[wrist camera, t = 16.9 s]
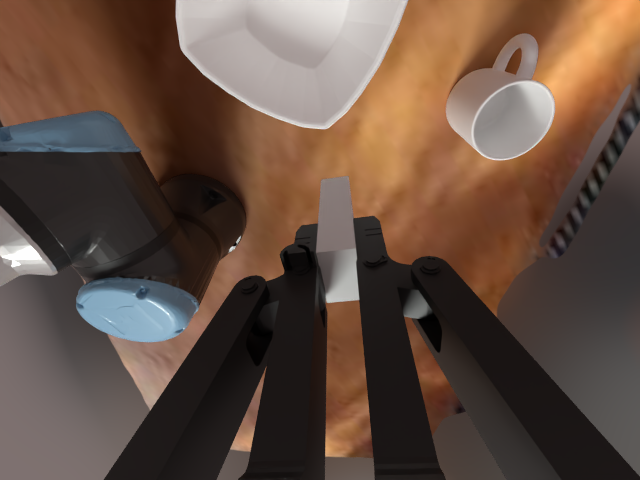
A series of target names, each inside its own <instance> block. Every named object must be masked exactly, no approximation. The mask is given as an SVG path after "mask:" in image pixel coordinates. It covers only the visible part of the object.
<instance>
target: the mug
mask: <svg viewBox="0 0 640 480" xmlns="http://www.w3.org/2000/svg"><path fill="white" fill-rule="evenodd" d="M518 48H521V51H522V58H521V62H520V66H519V68H518V71H517V73H516V75H515V74H512V73H508V72H505V69H506V66H507V64H508V62H509V60H510V58H511V56H512V54H513V53H514V52H515V51H516V50H517V49H518ZM537 59H538V44H537V42H536V40H535V38H534V37H533V36H532V35H530V34H527V33H524V34H519V35H516V36H514V37H513V38H511V39H510V40H509V41H508V42H507V43H506V44H505V46H504V47H503V48H502V50H501V51H500V53H499V55H498V57H497V58H496V60H495V63H494V65H493V67H492V68H483V69H478V70H475V71H473V72H470V73H469V74H467V75H465V76H464V77H463V78H462V79H460V80H459V81H458V82H457V84H456V85H455V86H454V87H453V89H452V91H451V92H450V94H449V97H448V99H447V103H446V116H447V120H448V122H449V124H450V126H451V127H452V128H453V129H454V130H455V131H456V132H457V133H458V134H459V135H460V136H461V137H462V138H463V139H464V140H466V141H467V142H468V143H469V144H470V145H471V146H472V147H473V148H474V149H475V150H477V151H478V152H479V153H480V154H481V155H483V156H484V157H486V158H489V159H493V160H507V159H512V158H515V157H518V156H520V155H522V154H524V153H526V152H527V151H529V150H530V149H532V148H533V147H534V146H535V145H536V144H538V143H539V142H540V140H541V139H542V138H543V137H544V136H545V134H546V133H547V131H548V130H549V128H550V126H551V124H552V121H553V118H554V114H555V101H554V97H553V95H552V93H551V91H550V90H549V89H548V88H547V87H546V86H545V85H544V84H542V83H540V82H538V81H535V80H532V77H533V74H534V71H535V68H536V64H537Z"/></svg>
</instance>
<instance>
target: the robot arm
mask: <svg viewBox="0 0 640 480" xmlns="http://www.w3.org/2000/svg"><path fill="white" fill-rule="evenodd" d="M140 152H141V150H140V149H139V147H136V145H135V144H134V142H133V141H132V139H131V138H130V136H129V135H128V133H127V132H126V130H125V128H124V127H123V125H122V124H121V122H120V121H119V120H118V119H117V118H116V117H114V116H113V115H111V114H109V113H107V112H104V111H89V112H84V113H78V114H72V115H67V116H61V117H56V118H50V119H45V120H39V121H34V122H28V123H23V124H18V125H13V126H7V127H1V128H0V286H2V285H3V284H5V283H7V282H9V281H10V280H12V279H14V278H16V277H17V276H19V275H24V274H40V275H55V274H57V273H58V272H60V271H62V270H63V269H65V268H66V267H68V266H70V265H72V266H73V267H74V268H75V270H76V271H77V272H78V273H79V274H80V275H81V276H82V278H83V279H84V280H85V281H86V284H85V285H84V286H82V287H81V289H80V290H79V292H78V296H77V298H76V300H77V303H76V307H77V310H78V312H79V313H80V314H81V316H82V317H83V318H84V319H85V320H86V321H87V322H88V323H90V324H91V325H92V326H94V327H96V328H97V329H99V330H101V331H103V332H106V333H107V334H110V335H113V336H115V337H119V338H123V339H127V340H132V341H138V342H158V341H164V340H168V339H171V338H173V337H175V336H177V335H179V334H180V333H182V332H183V331H184V330H185V329H186V327H187V326H188V324H189V322H190V321H191V319H192V317H193V315H194V314H195V313H196V312H197V311H198V309H199V305H200V303H201V301H202V298H203V296H204V294H205V292H206V289H207V287H208V285H209V283H210V280H211V278H212V276H213V274H214V271H215V269H216V267H217V265H218V262H219V261H220V260H221V259H222V258H224V257H225V256H226V255H227V254H228V253H230V252H231V251H232V250H233V249H234V248H235V247H236V246H237V245H238V244H239V242H240V240H241V238H242V236H243V234H244V231H245V227H246V216H245V212H244V209H243V206H242V204H241V203H240V201H239V199H238V198H237V197H236V195H235V194H234V193H233V192H232V191H231V190H230V189H228V188H227V187H226V186H225V185H223V184H222V183H220V182H218V181H216V180H214V179H212V178H209V177H206V176H202V175H197V174H184V175H179V176H176V177H173V178H171V179H169V180H168V181H167V182H165V183H164V184H163V185H162V186H161V187H159V185H158V183H157V181H156V180H155V178H154V176H153V174H152V173H151V171H150V169H149V167H148V165H147V164H146V162H145V160H144V158H143V157H142V155H141V153H140ZM280 258H281V261H282V264H283V267H284V274H283V275H281V276H280V277H278V278H275V279H272V280H269V281H267V282H266V281H265V279H264V278H263V277H261V276H257V275H256V276H249V277H246V278H244V279H242V280H240V281H239V282H238V283H237V284H236V285H235V286H234V288H233V289H232V291H231V292H230V294H229V295H228V296H227V298H226V299H225V301H224V302H223V304H222V305H221V307H220V308H219V310H218V311H217V313H216V314H215V316H214V317H213V319H212V320H211V322H210V323H209V325H208V326H207V328H206V329H205V331H204V332H203V334H202V335H201V336H200V338H199V339H198V341H197V342H196V344H195V345H194V347H193V348H192V350H191V351H190V353H189V354H188V356H187V357H186V359H185V360H184V362H183V363H182V365H181V366H180V368H179V369H178V371H177V372H176V374H175V375H174V376H173V378H172V379H171V381H170V382H169V384H168V385H167V387H166V388H165V390H164V391H163V393H162V394H161V396H160V397H159V399H158V400H157V402H156V403H155V405H154V406H153V408H152V409H151V411H150V412H149V414H148V415H147V417H146V418H145V419H144V421H143V422H142V424H141V425H140V427H139V428H138V430H137V431H136V433H135V435H134V436H133V437H132V439H131V440H130V442H129V443H128V445H127V446H126V448H125V449H124V451H123V452H122V454H121V455H120V456H119V458H118V459H117V461H116V462H115V464H114V465H113V467H112V468H111V470H110V471H109V473H108V474H107V476H106V477H105V479H104V480H216V479H217V477H218V475H219V473H220V470H221V468H222V465H223V464H224V461H225V459H226V457H227V454H228V452H229V450H230V448H231V445H232V443H233V441H234V439H235V436H236V434H237V432H238V429H239V427H240V425H241V423H242V420H243V418H244V416H245V414H246V411H247V409H248V407H249V404H250V402H251V400H252V398H253V395H254V393H255V391H256V389H257V386H258V384H259V382H260V379H261V377H262V375H263V373H264V370H265V368H266V373H265V378H264V383H263V389H262V394H261V399H260V405H259V410H258V415H257V421H256V426H255V431H254V437H253V442H252V447H251V453H250V458H249V463H248V467H247V470H246V472H245V473H244V474H243V475H242V476H241V477H240V478H239V479H238V480H325V429H326V364H327V309H326V305H325V301H326V300H327V303H331V302H342V301H352V300H359V302H360V313H361V324H362V335H363V346H364V357H365V368H366V379H367V390H368V401H369V413H370V424H371V435H372V446H373V457H374V470H375V480H446V479H445V476H444V473H443V472H442V470H441V469H440V466H439V463H438V459H437V455H436V451H435V447H434V443H433V438H432V434H431V430H430V426H429V421H428V417H427V413H426V409H425V404H424V400H423V396H422V392H421V387H420V383H419V379H418V375H417V370H416V366H415V362H414V358H413V353H412V349H411V345H410V341H409V336H408V332H407V328H406V324H405V319H404V316H405V317H411V318H412V320H413V322H414V324H415V326H416V327H417V329H418V331H419V333H420V334H421V336H422V338H423V339H424V341H425V343H426V344H427V346H428V348H429V349H430V351H431V353H432V354H433V356H434V358H435V360H436V361H437V363H438V365H439V366H440V368H441V370H442V371H443V373H444V375H445V376H446V378H447V380H448V381H449V383H450V385H451V387H452V388H453V390H454V392H455V393H456V395H457V397H458V398H459V400H460V402H461V403H462V405H463V407H464V408H465V410H466V412H467V413H468V415H469V417H470V419H471V420H472V422H473V424H474V425H475V427H476V429H477V430H478V432H479V434H480V436H481V437H482V439H483V440H484V442H485V444H486V446H487V447H488V449H489V451H490V452H491V454H492V456H493V457H494V459H495V460H496V463H497V464H498V466H499V468H500V469H501V471H502V473H503V474H504V476H505V478H506V479H507V480H640V476H639V475H638V474H637V473H636V472H635V471H634V470H633V469H632V468H631V466H630V465H629V464H628V463H627V462H626V461H625V460H624V459H623V458H622V456H621V455H620V454H619V453H618V452H617V451H616V450H615V449H614V447H613V446H612V445H611V444H610V443H609V442H608V441H607V440H606V439H605V437H604V436H603V435H602V434H601V433H600V432H599V431H598V430H597V429H596V427H595V426H594V425H593V424H592V423H591V422H590V421H589V420H588V419H587V417H586V416H585V415H584V414H583V413H582V412H581V411H580V410H579V409H578V408H577V406H576V405H575V404H574V403H573V402H572V401H571V400H570V399H569V397H568V396H567V395H566V394H565V393H564V392H563V391H562V390H561V389H560V388H559V386H558V385H557V384H556V383H555V382H554V381H553V380H552V379H551V377H550V376H549V375H548V374H547V373H546V372H545V371H544V370H543V369H542V368H541V366H540V365H539V364H538V363H537V362H536V361H535V360H534V359H533V357H532V356H531V355H530V354H529V353H528V352H527V351H526V350H525V349H524V347H523V346H522V345H521V344H520V343H519V342H518V341H517V340H516V339H515V337H514V336H513V335H512V334H511V333H510V332H509V331H508V330H507V329H506V327H505V326H504V325H503V324H502V323H501V322H500V321H499V320H498V319H497V317H496V316H495V315H494V314H493V313H492V312H491V311H490V310H489V309H488V307H487V306H486V305H485V304H484V303H483V302H482V301H481V300H480V299H479V297H478V296H477V295H476V294H475V293H474V292H473V291H472V290H471V289H470V287H469V286H468V285H467V284H466V283H465V282H464V281H463V280H462V278H461V277H460V276H459V275H458V274H457V273H456V272H455V271H454V270H453V268H452V267H451V266H450V265H449V264H448V263H447V262H446V261H444V260H443V259H440V258H438V257H432V256H426V257H421V258H418V259H416V260H415V261H414V262H413V263H412V265H407V264H401V263H398V262H395V261H393V260H392V259H391V258H390V257H389V256H388V254H387V251H386V246H385V242H384V238H383V234H382V229H381V225H380V221H379V220H378V219H377V218H376V217H375V216H369V217H361V218H354V217H353V209H352V201H351V193H350V185H349V176H344V177H337V178H330V179H323V180H321V190H320V204H319V218H318V224H310V225H302V226H301V227H300V228H299V229H298V230H297V232H296V236H295V242H294V244H291V245H289V246H287V247H286V248H284V249H283V250H282V251H281V253H280ZM266 366H267V367H266Z"/></svg>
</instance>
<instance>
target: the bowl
mask: <svg viewBox="0 0 640 480" xmlns="http://www.w3.org/2000/svg"><path fill="white" fill-rule="evenodd" d="M407 2H408V0H176V22H177V29H178V36H179V43H180V48H181V50H182V52H183V53H184V55H185V56H186V57H187V58H188V59H189V60H190V61H191V62H192V63H193V64H194V65H195V66H196V67H197V68H198V69H199V70H200V72H201V73H202V74H203V75H205V76H206V77H207V78H209V79H210V80H211V81H213V82H214V83H215V84H217V85H218V86H220V87H221V88H222V89H224V90H225V91H226V92H228V93H229V94H231V95H232V96H234V97H236V98H237V99H239V100H240V101H242V102H244V103H245V104H247V105H248V106H250V107H252V108H254V109H256V110H258V111H261V112H263V113H265V114H267V115H270V116H272V117H274V118H276V119H279V120H282V121H285V122H288V123H291V124H294V125H297V126H300V127H306V128H316V129H327V128H329V127H330V126H331V125H333V124H334V123H335V122H336V121H337V120H338V119H340V118H341V117H342V116H343V115H344V114H345V113H347V111H348V110H349V109H350V108H351V106H352V105H353V104H354V103H355V101H356V100H357V99H358V97H359V96H360V95H361V94H362V92H363V91H364V89H365V88H366V86H367V84H368V83H369V81H370V80H371V78H372V77H373V75H374V74H375V72H376V71H377V69H378V67H379V66H380V64H381V62H382V60H383V58H384V56H385V54H386V52H387V50H388V48H389V46H390V44H391V41H392V39H393V37H394V35H395V33H396V31H397V29H398V26H399V24H400V21H401V18H402V16H403V13H404V10H405V8H406V5H407Z"/></svg>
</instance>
